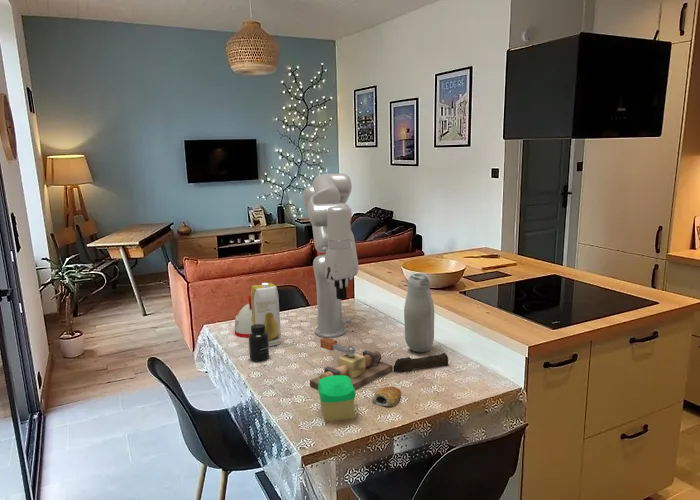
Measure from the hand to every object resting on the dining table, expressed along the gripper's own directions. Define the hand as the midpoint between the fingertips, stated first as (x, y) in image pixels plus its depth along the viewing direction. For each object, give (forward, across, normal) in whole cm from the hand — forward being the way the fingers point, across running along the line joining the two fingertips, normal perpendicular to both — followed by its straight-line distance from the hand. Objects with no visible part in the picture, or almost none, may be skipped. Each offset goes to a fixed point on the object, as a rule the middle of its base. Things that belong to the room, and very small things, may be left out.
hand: (341, 298), depth 169 cm
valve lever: (+15, +6, +4) cm, 17 cm away
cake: (+23, +24, +22) cm, 40 cm away
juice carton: (+23, +6, -35) cm, 42 cm away
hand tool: (+23, -14, +22) cm, 35 cm away
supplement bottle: (+23, +16, -26) cm, 38 cm away
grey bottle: (+23, -26, +12) cm, 37 cm away
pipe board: (+23, +6, +10) cm, 26 cm away
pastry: (+23, +10, +28) cm, 38 cm away
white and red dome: (+23, +2, -51) cm, 56 cm away
